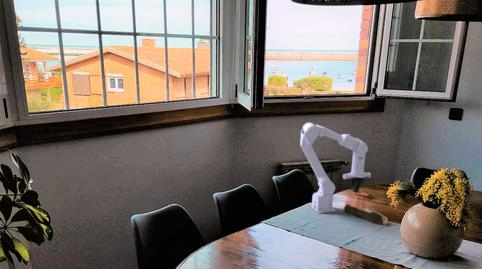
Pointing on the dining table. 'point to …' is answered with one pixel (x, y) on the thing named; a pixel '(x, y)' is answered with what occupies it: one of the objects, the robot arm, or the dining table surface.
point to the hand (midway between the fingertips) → (355, 191)
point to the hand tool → (364, 214)
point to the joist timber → (377, 213)
